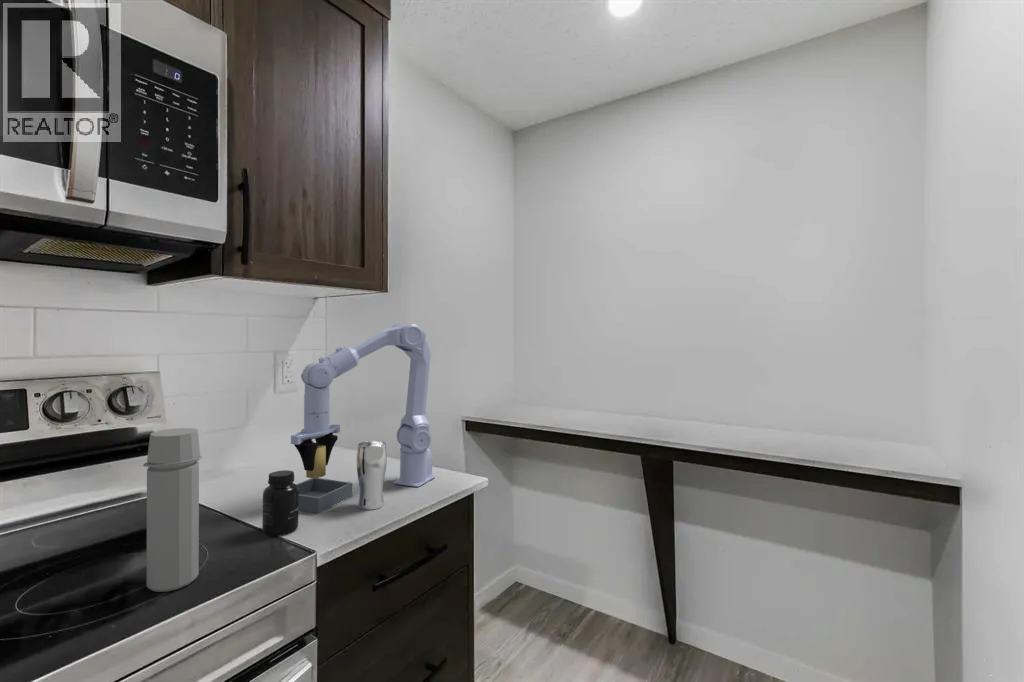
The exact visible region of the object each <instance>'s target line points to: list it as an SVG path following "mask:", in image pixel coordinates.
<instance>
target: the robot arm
mask: <svg viewBox="0 0 1024 682" xmlns="http://www.w3.org/2000/svg"><path fill="white" fill-rule="evenodd" d="M426 338H427V333H426V331H424V330H423V329H422V327H420V325H417V324H416V323H415V324H414V323H409V324H401V323H396V324H393V325H391V326H390V327H386V328H384V329H382V330H381V331H379V332H377V333H376V334H375V335H372V336H371V337H368V338H367V339H366V340H364V341H362V342H361V343H359V344H357V345H356V346H354V347H353V348H352V347H348V346H344V347H342V346H338V347H336V348H335V351H334V352H332V353H331V354H329V355H327V356H324V357H323V356H321V357H319V358H318V359H317V360H318V362H311V363H308V364H307V365H305V367H304V369H303V370H302V373H301V374H300V377H301V380H302V382H303V383H304V394H303V396H304V397H303V402H304V403H303V408H304V409H303V428H302V429H301V431H300V432H297V433H295V434H293V435H290V444H291V445H294V447H295V449H296V450H297V452H298V453H299V455H300V458H301V461H302V465H303V469H304V471H306V470H307V471H313V469H314V463H315V454H316V450H317V447H318V445H325V446H326V466H328V465H329V460H330V458H331V454H332V451H333V448H334V446H335V444H336V443H337V441H338V438H339V437H338V436H339V435H335V434H340V433H341V431H340V430H341V427H340V424H330V385H331V384H332V382H333V380H334V379H337V378H338V377H340V376H342V375H344V374H345V373H347V372H349V371H351V370H352V369H354V368H356V367H358V364H359V362H360V359H363V358H364V357H366V356H368V355H371V354H372V353H374V352H376V351H378V350H380V349H382V348H384V347H386V346H394V347H396V348H398V349H400V350H401V351H402V352H403V353H405V354H406V356H408V358H409V359H410V362H409V371H408V385H407V395H406V406H405V407H406V408H405V413H404V414H405V415H404V416H403V417H402V419H401V420H400V425H399V428H398V430H397V431H396V441H397V442H398V443H399V444H400V451H399V453H400V455H399V456H400V457H399V459H400V460H399V464H400V465H399V467H400V468H399V479H397V480H394V481H393V484H394V485H401V486H407V487H413V488H419V487H421V486H423V485H425V484H426V483H428V482H429V481H431V480H432V479H435V477H436V476H435V475H433V454H432V453H433V452H431V449H430V448H429V447H430V445H431V443H432V434H431V432H430V422H429V421H428V419H427V417H426V409H427V398H428V386H429V375H430V365H431V357H432V355H431V350H430V348H429V344H428V342H427V340H426ZM314 440H315V442H314Z"/></svg>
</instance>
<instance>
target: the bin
mask: <svg viewBox="0 0 1024 682" xmlns="http://www.w3.org/2000/svg"><path fill="white" fill-rule="evenodd" d="M295 484H296V485H297V486H298V488H299V511H301V510H303V512H308V513H312V512H314V514H318V513H319V514H321V513H323V512H325V511H326V509H327V510H329V509H330V507H331V508H333V507H334V506H333V505H335V504H337V503H339V502H341V501H343V500H345V501H347V500H348V499H347V498H349V499H351V498H352V497H353V482H349V481H340V480H336V479H328V478H322V477H319V478H309V479H307V480H303V481H302V482H299V483H295ZM350 497H351V498H350ZM346 499H347V500H346ZM343 502H344V501H343ZM341 503H342V502H341ZM339 504H340V503H339ZM337 505H338V504H337ZM332 506H333V507H332ZM335 506H336V505H335ZM328 508H329V509H328ZM324 510H325V511H324ZM322 511H323V512H322ZM320 512H321V513H320Z"/></svg>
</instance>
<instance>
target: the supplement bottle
mask: <svg viewBox="0 0 1024 682" xmlns="http://www.w3.org/2000/svg"><path fill="white" fill-rule="evenodd" d="M294 482H295V473H294V471H292V470H290V469H289V470H286V469H285V470H276V471H273V472H270V473H269V474H268V480H267V484H268V486H267V487H265V488H264V489H263V492H262V519H261V520H262V523H261V525H262V533H263V534H264V535H266V536H270V537H271V536H272V537H278V536H279V537H280V536H285V535H289V534H291V533H293V532H295V531H296V530H297V529H298V527H299V512H300V510H299V488H298V486H297V485H296V484H297V483H294ZM288 533H289V534H288ZM284 534H285V535H284Z"/></svg>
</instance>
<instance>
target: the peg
mask: <svg viewBox="0 0 1024 682" xmlns="http://www.w3.org/2000/svg"><path fill="white" fill-rule="evenodd" d="M326 467H327V465H326V446H325V445H318V447H317V450H316V454H315V463H314V469H313V471H307V470H305V477H306V478H309V479H311V478H322V477H325V476H326V475H327V473H326V470H327V468H326Z"/></svg>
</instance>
